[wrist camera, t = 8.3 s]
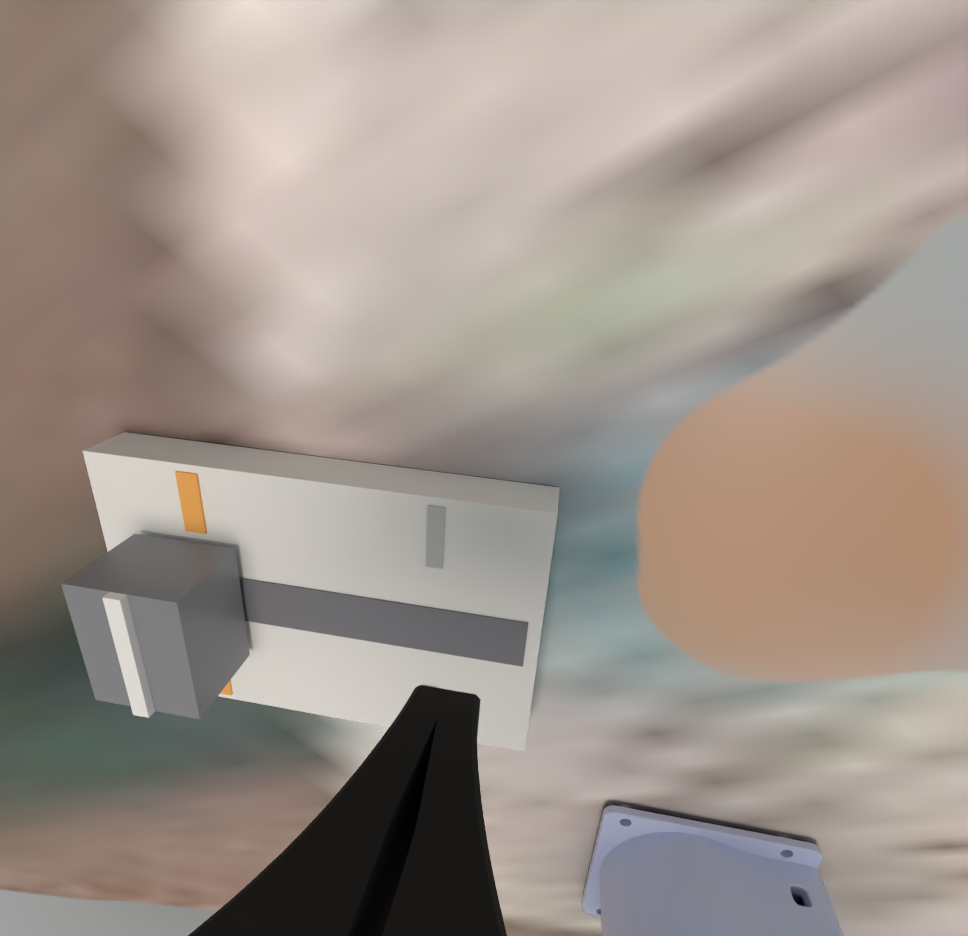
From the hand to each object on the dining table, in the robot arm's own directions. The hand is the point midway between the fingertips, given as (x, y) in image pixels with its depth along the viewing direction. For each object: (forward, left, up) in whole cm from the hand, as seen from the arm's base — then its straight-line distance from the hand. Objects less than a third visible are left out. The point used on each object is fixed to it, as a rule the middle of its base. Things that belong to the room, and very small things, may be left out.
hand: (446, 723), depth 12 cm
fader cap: (+11, +4, -7) cm, 14 cm away
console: (+7, +4, -9) cm, 12 cm away
